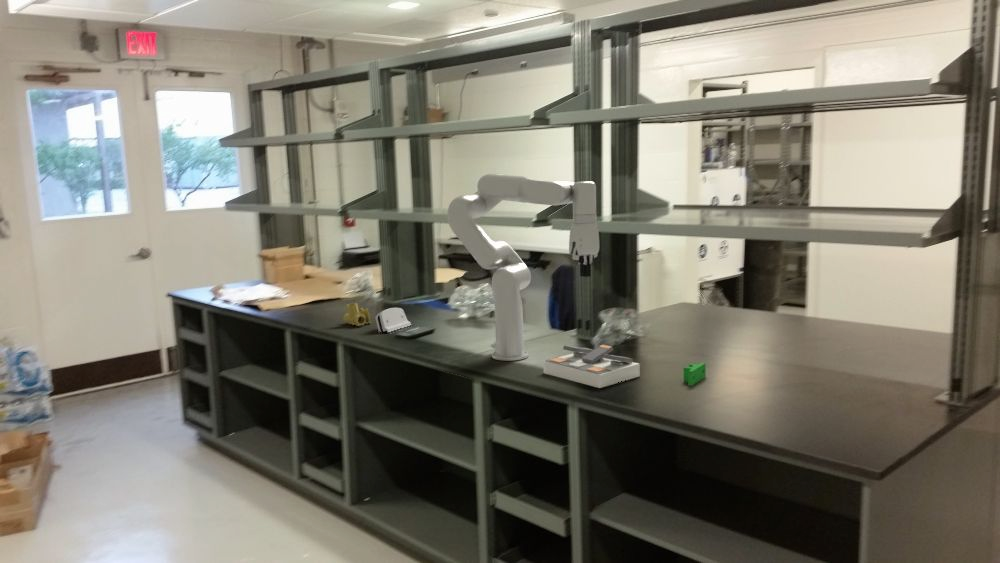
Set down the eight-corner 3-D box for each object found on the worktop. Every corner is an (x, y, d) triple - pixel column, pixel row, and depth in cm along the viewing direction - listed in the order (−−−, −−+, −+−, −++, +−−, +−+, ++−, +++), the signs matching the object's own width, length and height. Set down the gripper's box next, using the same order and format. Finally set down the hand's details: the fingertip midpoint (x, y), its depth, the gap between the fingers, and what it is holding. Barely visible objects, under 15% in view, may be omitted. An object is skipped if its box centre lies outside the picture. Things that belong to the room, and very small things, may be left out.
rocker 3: (600, 357, 232) (601, 352, 232) (621, 360, 238) (622, 356, 238) (611, 359, 228) (611, 355, 228) (632, 363, 235) (633, 358, 235)
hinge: (388, 333, 308) (380, 310, 308) (379, 336, 311) (372, 313, 311) (412, 325, 323) (404, 303, 323) (403, 328, 325) (396, 306, 325)
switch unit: (543, 373, 242) (543, 357, 241) (583, 362, 253) (583, 348, 252) (599, 388, 223) (599, 371, 223) (639, 376, 235) (639, 360, 234)
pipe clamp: (693, 376, 234) (693, 361, 234) (705, 377, 232) (705, 362, 232) (679, 384, 225) (679, 369, 225) (691, 386, 223) (692, 371, 222)
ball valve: (357, 330, 322) (377, 323, 328) (352, 306, 320) (372, 300, 326) (343, 327, 332) (363, 321, 338) (338, 305, 330) (358, 299, 336)
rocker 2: (582, 361, 238) (581, 357, 238) (603, 347, 244) (602, 344, 244) (592, 363, 235) (591, 359, 234) (613, 350, 241) (612, 346, 240)
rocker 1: (563, 349, 244) (563, 345, 244) (584, 351, 250) (585, 347, 250) (572, 351, 240) (573, 347, 240) (594, 354, 247) (594, 350, 247)
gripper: (592, 218, 253) (592, 272, 256) (559, 221, 244) (560, 277, 247) (609, 218, 248) (609, 274, 250) (576, 221, 238) (577, 279, 241)
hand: (585, 276), depth 248 cm, fingers closed
